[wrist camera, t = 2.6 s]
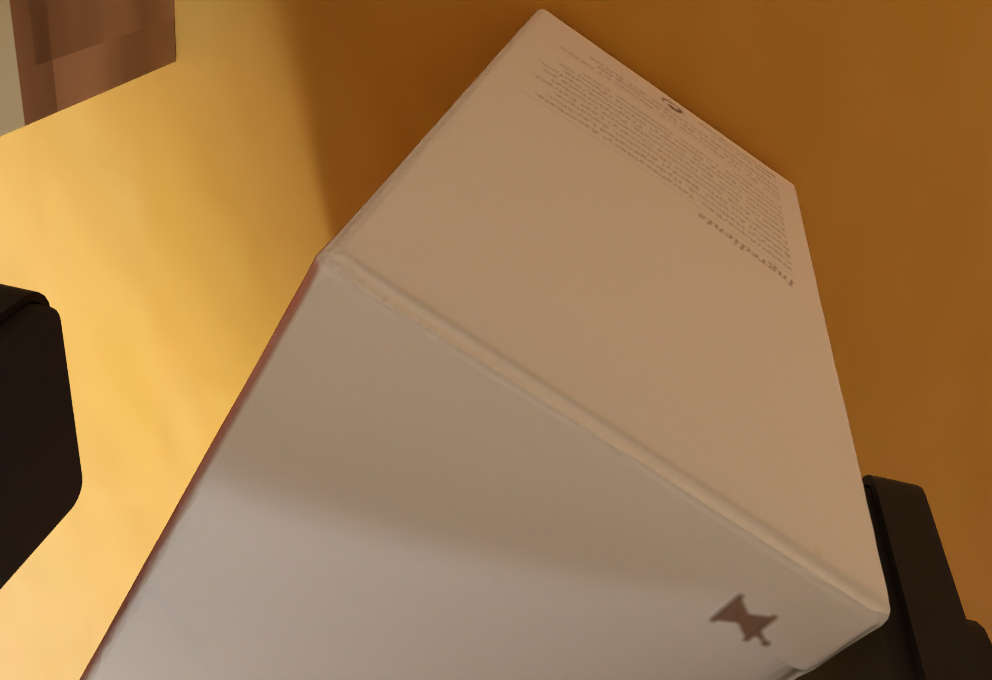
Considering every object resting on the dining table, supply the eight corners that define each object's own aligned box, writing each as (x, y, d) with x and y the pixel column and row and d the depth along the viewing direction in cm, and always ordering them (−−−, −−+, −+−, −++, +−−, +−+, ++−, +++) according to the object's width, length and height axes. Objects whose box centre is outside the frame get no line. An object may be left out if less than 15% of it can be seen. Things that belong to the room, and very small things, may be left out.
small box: (542, -2, 16) (318, 225, 7) (804, 183, 16) (922, 621, 7) (339, 326, 20) (26, 744, 11) (554, 464, 20) (430, 971, 11)
